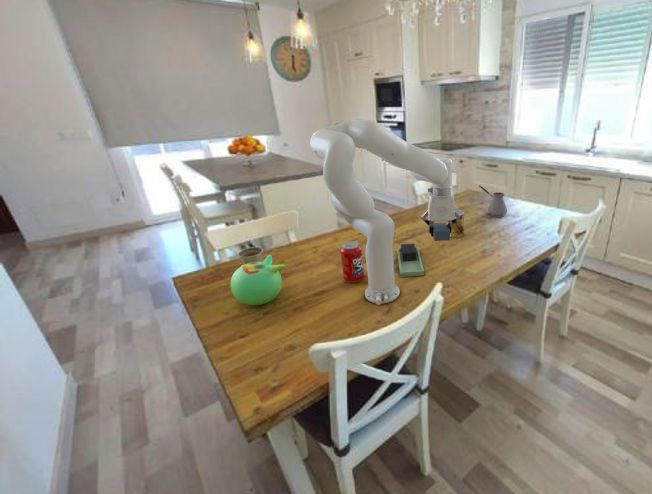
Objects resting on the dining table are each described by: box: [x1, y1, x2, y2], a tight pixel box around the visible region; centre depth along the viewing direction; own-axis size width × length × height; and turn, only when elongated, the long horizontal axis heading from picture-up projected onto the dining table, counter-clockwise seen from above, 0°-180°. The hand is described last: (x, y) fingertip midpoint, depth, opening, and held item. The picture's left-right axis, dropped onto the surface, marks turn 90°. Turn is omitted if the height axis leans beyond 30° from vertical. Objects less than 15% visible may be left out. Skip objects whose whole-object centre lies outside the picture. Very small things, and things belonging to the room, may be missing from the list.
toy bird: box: [229, 254, 286, 306], centre depth 112 cm, size 18×17×15 cm
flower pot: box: [237, 246, 264, 265], centre depth 132 cm, size 9×9×9 cm
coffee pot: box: [478, 184, 508, 218], centre depth 190 cm, size 21×12×15 cm, turn 39°
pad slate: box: [432, 222, 451, 242], centre depth 127 cm, size 9×6×4 cm, turn 6°
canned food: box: [450, 209, 465, 239], centre depth 162 cm, size 8×8×12 cm
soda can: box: [339, 241, 365, 284], centre depth 124 cm, size 8×8×15 cm
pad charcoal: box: [400, 243, 416, 261], centre depth 142 cm, size 9×6×4 cm, turn 7°
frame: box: [396, 246, 425, 278], centre depth 138 cm, size 23×10×2 cm, turn 7°
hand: (440, 234), depth 128 cm, fingers closed on pad slate, 6 cm apart
